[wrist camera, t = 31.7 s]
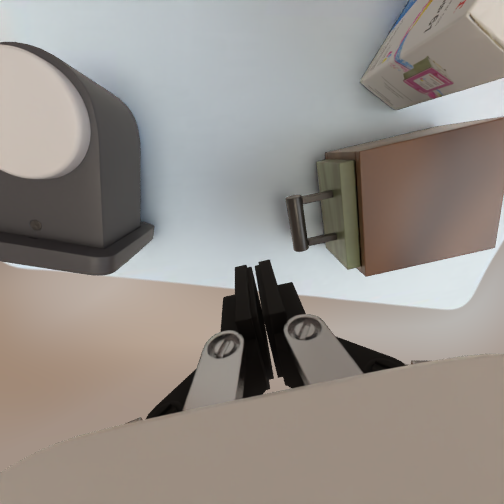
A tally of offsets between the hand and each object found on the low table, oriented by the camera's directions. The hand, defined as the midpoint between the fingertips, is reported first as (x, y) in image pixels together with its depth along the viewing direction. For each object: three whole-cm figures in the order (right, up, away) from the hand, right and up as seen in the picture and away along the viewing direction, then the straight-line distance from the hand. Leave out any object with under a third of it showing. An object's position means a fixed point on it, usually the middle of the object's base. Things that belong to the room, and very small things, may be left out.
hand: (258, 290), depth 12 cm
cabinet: (+14, +8, +15) cm, 22 cm away
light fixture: (-15, +10, +12) cm, 22 cm away
